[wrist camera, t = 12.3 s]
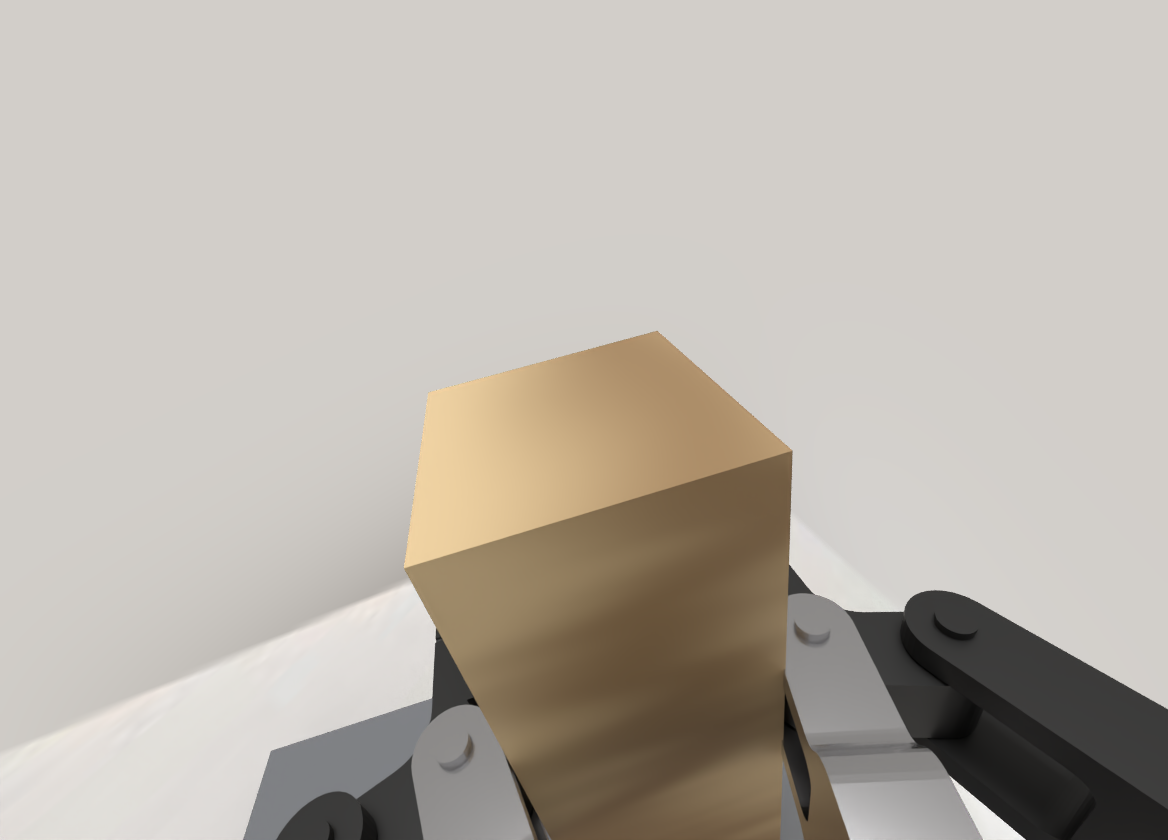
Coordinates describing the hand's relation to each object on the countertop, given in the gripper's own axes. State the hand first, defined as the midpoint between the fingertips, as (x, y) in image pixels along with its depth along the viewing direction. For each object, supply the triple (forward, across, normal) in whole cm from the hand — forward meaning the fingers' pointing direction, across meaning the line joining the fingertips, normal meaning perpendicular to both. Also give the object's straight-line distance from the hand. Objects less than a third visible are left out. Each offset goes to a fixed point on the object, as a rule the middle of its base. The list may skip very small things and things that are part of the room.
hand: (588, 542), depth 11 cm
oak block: (-3, 0, +7) cm, 8 cm away
